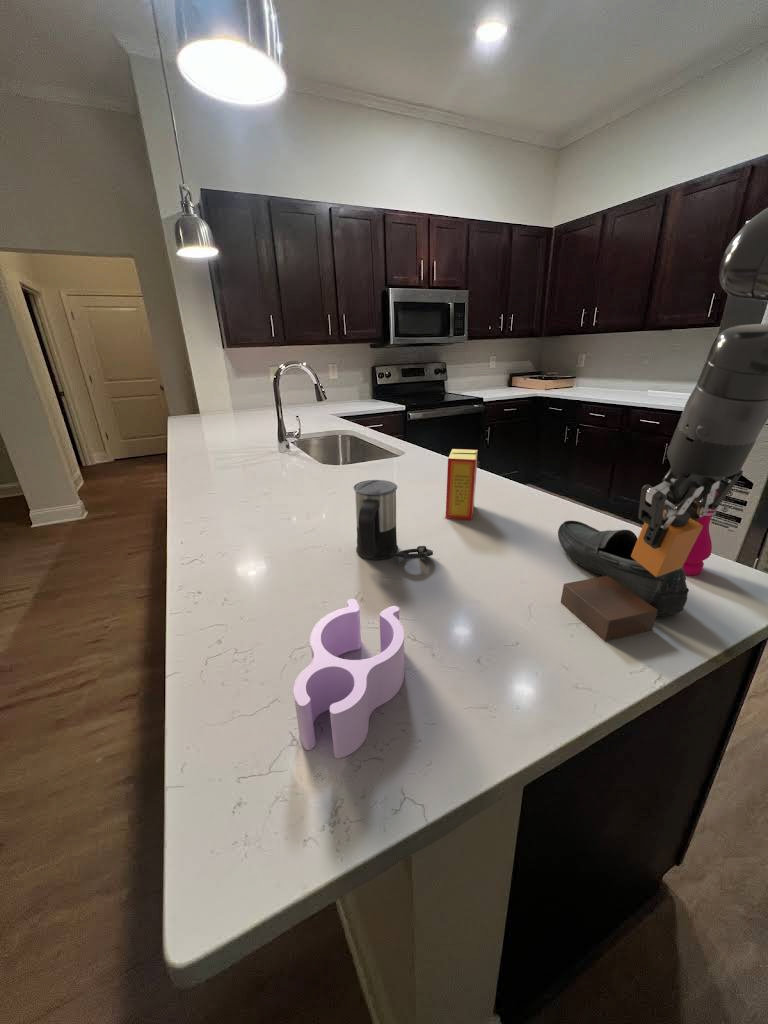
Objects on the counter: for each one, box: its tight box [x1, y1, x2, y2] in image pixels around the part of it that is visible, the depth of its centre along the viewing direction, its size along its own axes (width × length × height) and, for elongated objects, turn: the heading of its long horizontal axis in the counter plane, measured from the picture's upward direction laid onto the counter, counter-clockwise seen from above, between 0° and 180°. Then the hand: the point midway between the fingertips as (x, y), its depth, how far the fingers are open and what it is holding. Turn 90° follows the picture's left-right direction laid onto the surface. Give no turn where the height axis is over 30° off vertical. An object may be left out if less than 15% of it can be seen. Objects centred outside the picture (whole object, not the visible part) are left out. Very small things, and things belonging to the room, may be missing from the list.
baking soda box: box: [445, 448, 479, 521], centre depth 107 cm, size 10×6×16 cm
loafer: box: [557, 520, 690, 617], centre depth 78 cm, size 10×29×10 cm, turn 18°
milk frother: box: [353, 479, 434, 560], centre depth 87 cm, size 14×16×15 cm
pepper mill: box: [682, 491, 719, 576], centre depth 79 cm, size 7×7×20 cm
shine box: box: [560, 575, 658, 642], centre depth 68 cm, size 10×9×4 cm
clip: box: [292, 598, 405, 760], centre depth 55 cm, size 20×12×7 cm, turn 163°
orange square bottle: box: [631, 509, 703, 577], centre depth 58 cm, size 9×5×5 cm
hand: (665, 538), depth 58 cm, fingers closed on orange square bottle, 4 cm apart
